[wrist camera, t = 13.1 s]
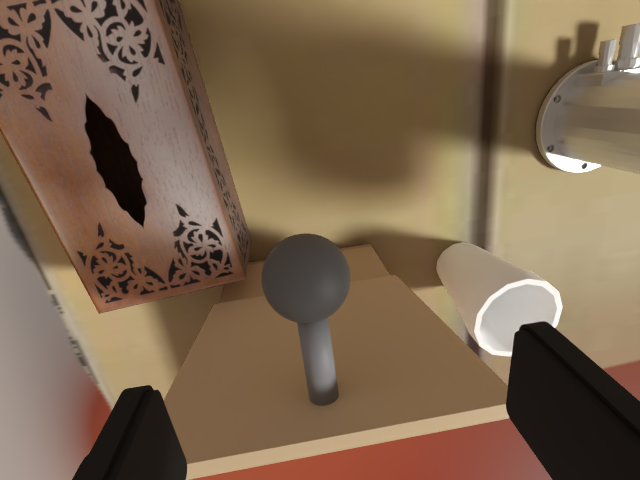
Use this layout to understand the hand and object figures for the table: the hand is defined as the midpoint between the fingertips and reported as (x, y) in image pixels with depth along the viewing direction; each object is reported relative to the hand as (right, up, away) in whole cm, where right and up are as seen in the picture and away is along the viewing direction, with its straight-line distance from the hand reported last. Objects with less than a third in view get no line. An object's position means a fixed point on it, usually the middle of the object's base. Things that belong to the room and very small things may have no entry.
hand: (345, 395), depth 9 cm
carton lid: (-1, -4, +17) cm, 17 cm away
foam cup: (+18, +1, +39) cm, 43 cm away
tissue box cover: (-19, +14, +30) cm, 38 cm away
